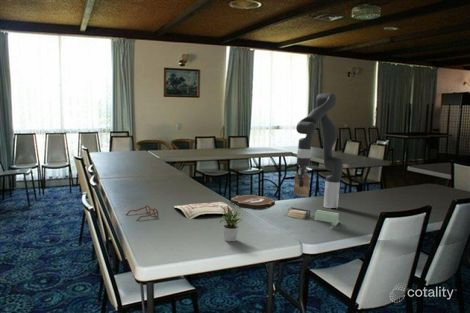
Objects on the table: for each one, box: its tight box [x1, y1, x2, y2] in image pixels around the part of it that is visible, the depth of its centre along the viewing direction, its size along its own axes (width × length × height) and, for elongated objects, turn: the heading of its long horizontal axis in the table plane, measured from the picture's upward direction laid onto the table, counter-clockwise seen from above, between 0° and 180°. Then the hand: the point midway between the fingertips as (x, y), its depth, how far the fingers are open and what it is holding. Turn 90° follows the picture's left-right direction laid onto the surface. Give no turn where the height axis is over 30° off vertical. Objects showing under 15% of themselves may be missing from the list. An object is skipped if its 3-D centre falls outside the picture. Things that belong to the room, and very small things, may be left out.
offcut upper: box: [287, 210, 306, 216], centre depth 213 cm, size 5×9×2 cm, turn 68°
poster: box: [173, 201, 236, 220], centre depth 219 cm, size 28×6×30 cm
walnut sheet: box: [293, 173, 311, 197], centre depth 217 cm, size 2×8×12 cm, turn 64°
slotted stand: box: [313, 209, 340, 227], centre depth 211 cm, size 8×12×6 cm, turn 64°
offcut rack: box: [282, 206, 313, 221], centre depth 216 cm, size 12×14×4 cm
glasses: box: [125, 204, 159, 222], centre depth 201 cm, size 13×13×5 cm
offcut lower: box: [288, 214, 306, 220], centre depth 214 cm, size 5×9×2 cm, turn 64°
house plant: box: [217, 206, 246, 242], centre depth 171 cm, size 14×14×16 cm
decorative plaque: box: [230, 194, 276, 210], centre depth 246 cm, size 30×3×30 cm
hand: (301, 186), depth 217 cm, fingers closed on walnut sheet, 1 cm apart
